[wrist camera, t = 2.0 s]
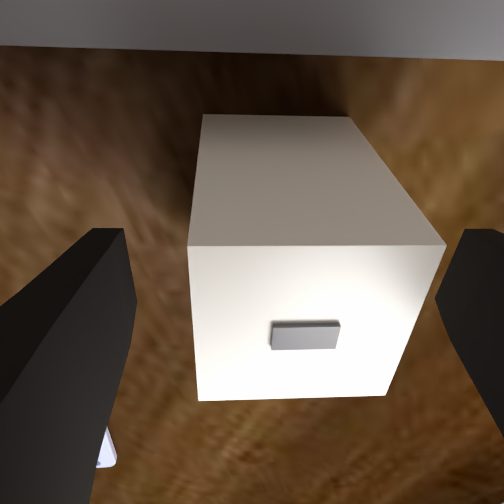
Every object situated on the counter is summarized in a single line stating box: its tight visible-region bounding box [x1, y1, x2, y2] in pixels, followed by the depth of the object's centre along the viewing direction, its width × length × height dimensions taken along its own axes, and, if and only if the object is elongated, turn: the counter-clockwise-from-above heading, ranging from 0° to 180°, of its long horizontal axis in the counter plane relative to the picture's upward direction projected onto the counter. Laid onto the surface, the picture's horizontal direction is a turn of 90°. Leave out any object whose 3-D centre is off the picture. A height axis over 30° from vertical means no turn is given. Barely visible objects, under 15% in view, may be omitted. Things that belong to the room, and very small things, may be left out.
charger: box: [187, 114, 447, 401], centre depth 10 cm, size 4×4×6 cm
